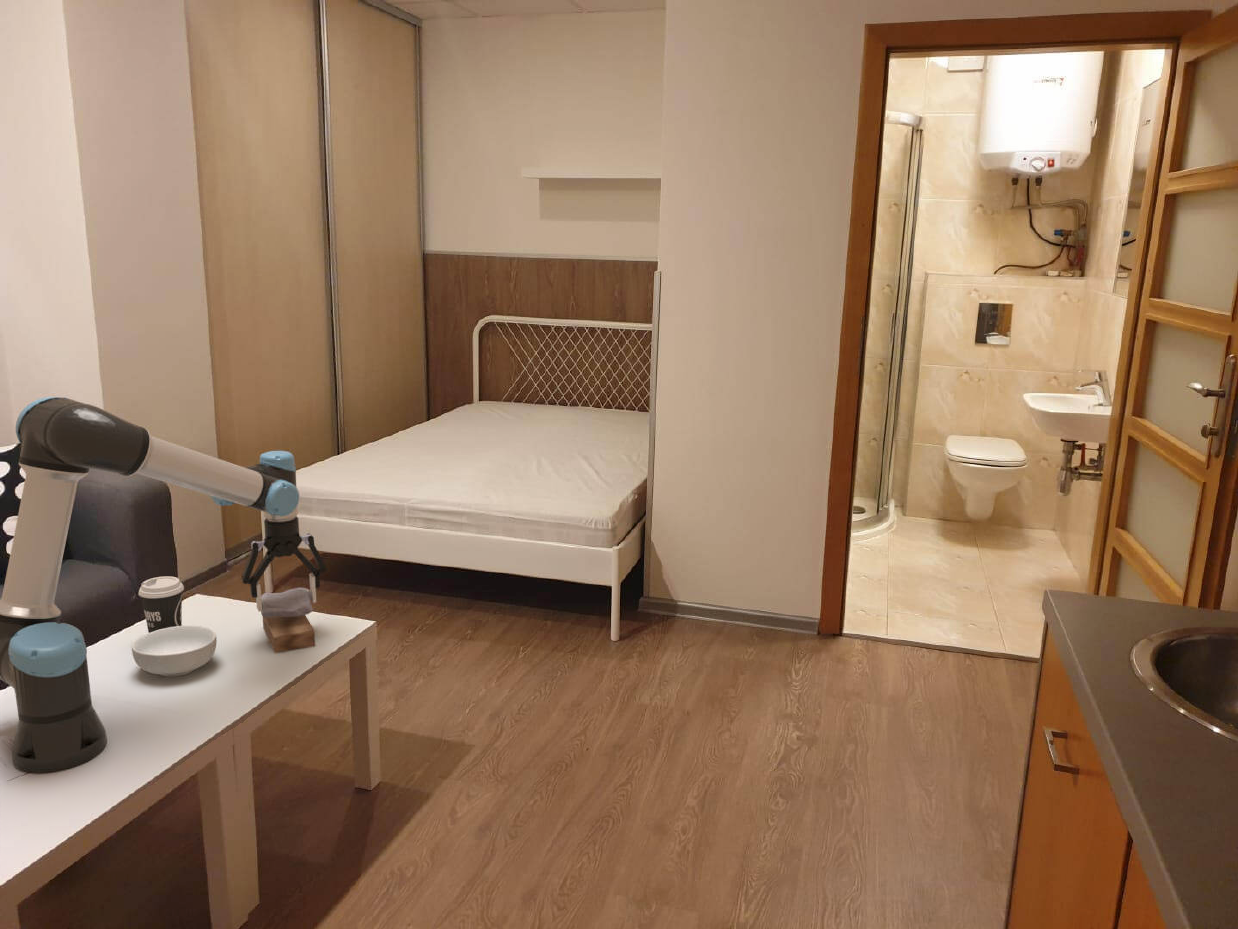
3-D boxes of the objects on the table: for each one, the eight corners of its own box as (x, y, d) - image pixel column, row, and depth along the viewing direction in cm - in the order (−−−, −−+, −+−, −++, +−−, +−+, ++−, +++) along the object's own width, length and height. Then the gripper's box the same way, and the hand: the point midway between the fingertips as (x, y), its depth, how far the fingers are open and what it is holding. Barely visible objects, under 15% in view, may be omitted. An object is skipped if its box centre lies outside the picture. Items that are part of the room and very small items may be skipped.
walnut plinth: (274, 653, 220) (273, 636, 219) (263, 628, 234) (262, 612, 233) (315, 645, 224) (314, 630, 223) (301, 621, 238) (300, 606, 237)
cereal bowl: (233, 656, 218) (230, 627, 216) (191, 689, 202) (188, 658, 200) (164, 650, 220) (161, 621, 219) (117, 682, 204) (114, 651, 203)
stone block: (314, 621, 227) (310, 598, 235) (313, 604, 225) (309, 582, 233) (261, 629, 223) (259, 606, 231) (259, 612, 221) (257, 589, 229)
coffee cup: (156, 633, 229) (151, 574, 226) (195, 635, 229) (190, 575, 225) (135, 650, 220) (129, 588, 216) (176, 651, 219) (170, 590, 216)
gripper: (228, 528, 213) (235, 619, 218) (337, 515, 225) (341, 602, 230) (223, 519, 220) (230, 608, 225) (330, 507, 231) (334, 591, 236)
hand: (286, 605), depth 227 cm, fingers closed on stone block, 12 cm apart
